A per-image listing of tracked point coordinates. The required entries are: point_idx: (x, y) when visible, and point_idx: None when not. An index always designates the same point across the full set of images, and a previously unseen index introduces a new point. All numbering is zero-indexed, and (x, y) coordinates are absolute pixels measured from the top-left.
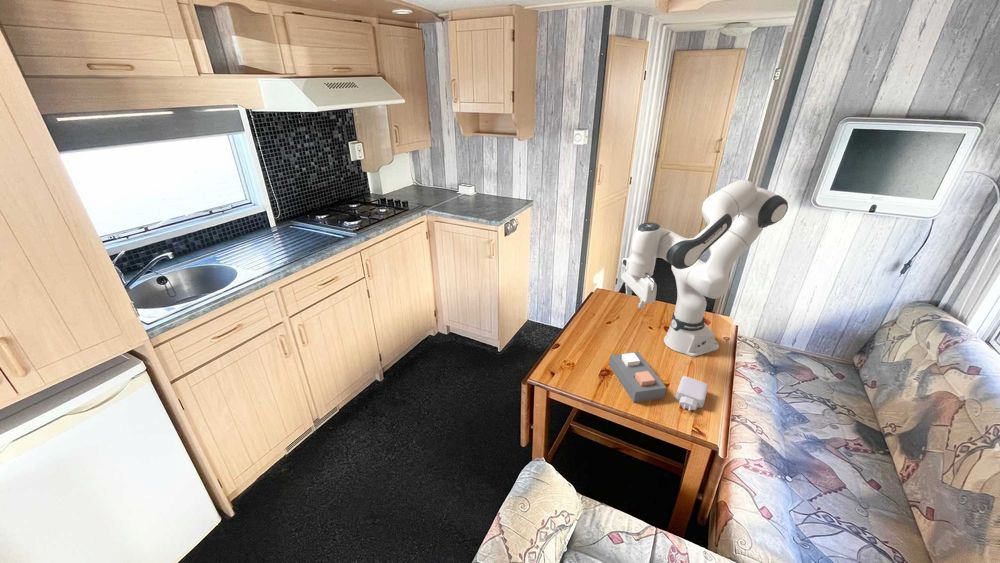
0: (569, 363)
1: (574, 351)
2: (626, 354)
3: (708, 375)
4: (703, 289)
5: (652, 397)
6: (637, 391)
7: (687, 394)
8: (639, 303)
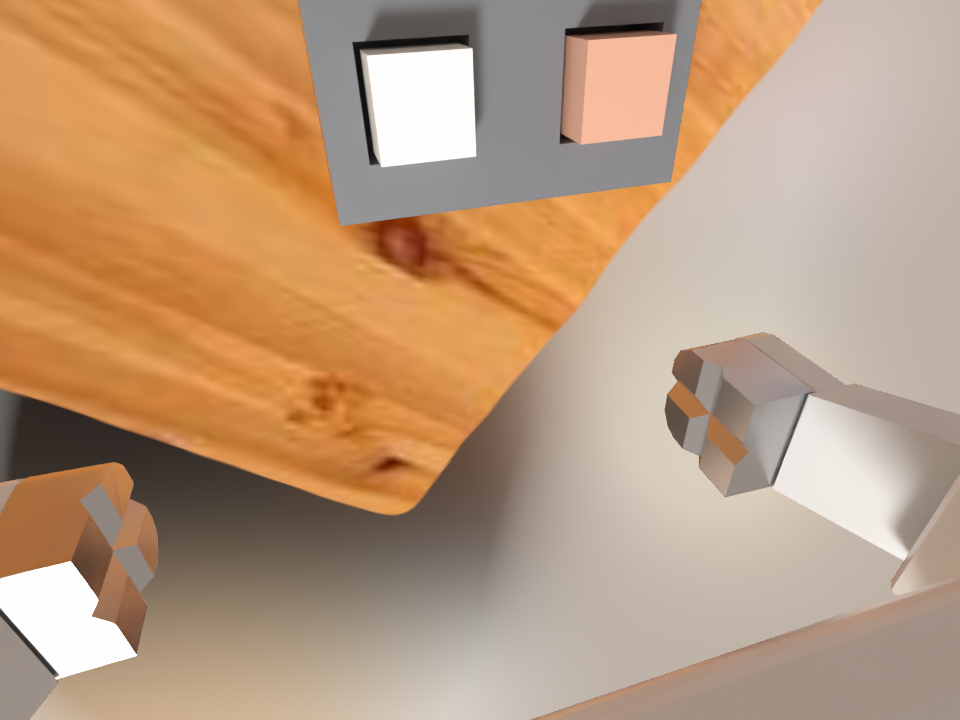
0: (317, 399)
1: (200, 367)
2: (387, 133)
3: None
4: None
5: None
6: (670, 169)
7: None
8: (804, 499)
